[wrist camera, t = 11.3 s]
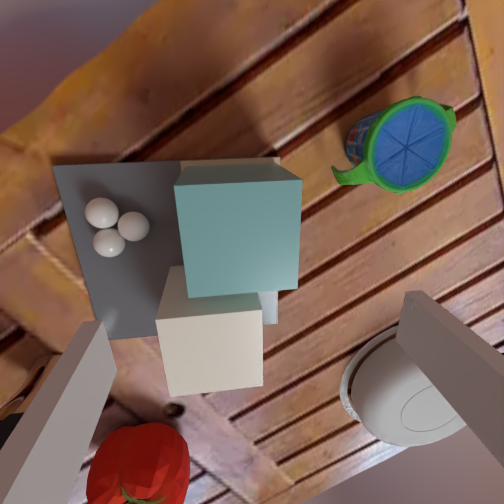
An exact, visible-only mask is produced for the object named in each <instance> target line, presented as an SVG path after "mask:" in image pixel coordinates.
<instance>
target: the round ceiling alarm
mask: <svg viewBox="0 0 504 504" xmlns="http://www.w3.org/2000/svg"><path fill="white" fill-rule="evenodd" d="M397 329H398V325H397V326H395V327H392V328H390V329H388V330H386V331H384V332H383V333H381V334H379V335H378V336H376V337H375V338H373V339H372V340H371V341H369V342H368V343H367V344H366V345H365V346H364V347H362V348H361V349H360V350H359V351H358V353H357V354H356V355H355V356H354V357H353V358H352V360H351V361H350V363H349V364H348V366H347V368H346V370H345V372H344V374H343V377H342V379H341V384H340V398H341V402H342V405H343V407H344V409H345V410H346V412H347V413H348V414H349V415H350V416H351V417H353V418H354V419H356V420H357V421H359V422H361V423H363V425H364V426H365V428H366V429H367V430H368V431H369V432H370V433H371V434H372V435H373V436H375V437H376V438H377V439H379V440H381V441H383V442H385V443H388V444H391V445H396V446H406V447H408V446H420V445H425V444H429V443H432V442H436V441H438V440H441V439H443V438H445V437H447V436H449V435H451V434H453V433H455V432H456V431H458V430H459V429H461V428H462V427H464V426H465V425H466V423H465V422H464V420H463V419H462V418H461V417H460V416H459V414H458V413H457V412H456V411H455V410H454V409H453V407H452V406H451V405H450V404H449V403H448V402H447V400H446V399H445V398H444V397H443V396H442V394H441V393H440V392H439V391H438V390H437V389H436V387H435V386H434V385H433V384H432V383H431V382H430V380H429V379H428V378H427V377H426V376H425V374H424V373H423V372H422V371H421V370H420V369H419V367H418V366H417V365H416V364H415V363H414V361H413V360H412V359H411V358H410V357H409V356H408V354H407V353H406V352H405V351H404V350H403V349H402V347H401V346H400V345H399V344H398V343H397V341H396V340H395V339H396V337H395V338H393V339H391V340H389V341H387V342H386V343H384V344H383V345H381V346H380V347H378V348H377V349H376V350H374V351H373V352H372V353H371V354H370V355H369V356H368V357H367V358H366V359H365V361H364V362H363V363H362V365H361V366H360V367H359V369H358V371H357V373H356V375H355V377H354V380H353V383H352V387H351V400H352V403H353V406H354V408H355V410H356V411H355V410H354V409H353V408H352V407H351V405H350V403H349V400H348V395H347V387H348V382H349V379H350V376H351V374H352V372H353V370H354V368H355V366H356V365H357V364H358V362H359V361H360V360H361V358H362V357H363V356H364V355H365V354H366V353H367V352H368V351H369V350H370V349H371V348H373V347H374V346H375V345H377V344H378V343H379V342H381V341H382V340H384V339H386V338H387V337H389V336H391V335H393V334H395V333H397Z"/></svg>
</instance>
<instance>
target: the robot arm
mask: <svg viewBox="0 0 504 504" xmlns="http://www.w3.org/2000/svg"><path fill="white" fill-rule="evenodd" d="M395 340H396V341H397V343H398V344H399V345H400V346H401V347H402V349H403V350H404V351H405V352H406V353H407V354H408V356H409V357H410V358H411V359H412V360H413V361H414V363H415V364H416V365H417V366H418V367H419V369H420V370H421V371H422V372H423V373H424V374H425V376H426V377H427V378H428V379H429V380H430V382H431V383H432V384H433V385H434V386H435V387H436V389H437V390H438V391H439V392H440V393H441V394H442V396H443V397H444V398H445V399H446V400H447V402H448V403H449V404H450V405H451V406H452V407H453V409H454V410H455V411H456V412H457V413H458V414H459V416H460V417H461V418H462V419H463V420H464V422H465V423H466V424H467V425H468V426H469V427H470V429H471V430H472V431H473V432H474V433H475V434H476V436H477V437H478V438H479V439H480V440H481V442H482V443H483V444H484V445H485V446H486V447H487V449H488V450H489V451H490V452H491V453H492V455H494V457H495V458H496V459H497V460H498V462H499V463H500V464H501V465H502V466H503V467H504V353H500V352H499V351H497V350H496V349H495V348H494V347H492V346H491V345H490V344H489V343H487V342H486V341H485V340H483V339H482V338H481V337H480V336H478V335H477V334H476V333H475V332H473V331H472V330H471V329H470V328H468V327H467V326H466V325H465V324H463V323H462V322H461V321H460V320H458V319H457V318H456V317H455V316H453V315H452V314H451V313H449V312H448V311H447V310H446V309H444V308H443V307H442V306H441V305H439V304H438V303H437V302H436V301H434V300H433V299H432V298H431V297H429V296H428V295H427V294H426V293H424V292H423V291H422V290H419V291H408V292H406V293H405V298H404V302H403V307H402V311H401V316H400V320H399V325H398V329H397V334H396V339H395ZM116 373H117V369H116V365H115V362H114V358H113V354H112V351H111V347H110V344H109V340H108V337H107V333H106V330H105V326H104V322H103V320H99V321H88V322H83V323H82V324H81V326H80V327H79V329H78V330H77V332H76V334H75V335H74V337H73V338H72V340H71V341H70V343H69V344H68V346H67V348H66V349H65V351H64V352H63V354H62V355H61V357H60V358H59V360H58V362H57V363H56V365H55V366H54V368H53V369H52V371H51V372H50V374H49V376H48V377H47V379H46V380H45V382H44V383H43V385H42V386H41V388H40V390H39V391H38V393H37V394H36V396H35V397H34V399H33V400H32V402H31V404H30V405H29V407H28V408H27V410H26V411H25V412H22V413H14V414H9V415H8V416H7V417H6V418H5V419H3V420H2V421H1V422H0V504H67V502H68V500H69V497H70V495H71V492H72V489H73V487H74V484H75V481H76V479H77V476H78V473H79V471H80V468H81V465H82V463H83V460H84V457H85V455H86V452H87V450H88V447H89V444H90V442H91V439H92V436H93V434H94V431H95V428H96V426H97V423H98V420H99V418H100V415H101V413H102V410H103V407H104V405H105V402H106V399H107V397H108V394H109V391H110V389H111V386H112V383H113V381H114V378H115V375H116Z"/></svg>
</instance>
